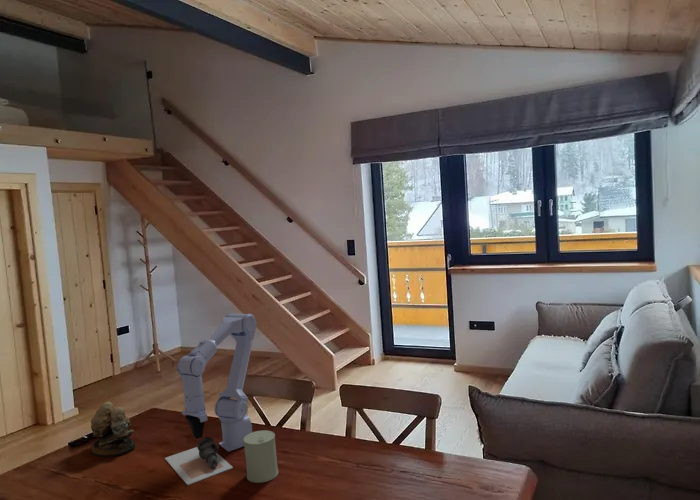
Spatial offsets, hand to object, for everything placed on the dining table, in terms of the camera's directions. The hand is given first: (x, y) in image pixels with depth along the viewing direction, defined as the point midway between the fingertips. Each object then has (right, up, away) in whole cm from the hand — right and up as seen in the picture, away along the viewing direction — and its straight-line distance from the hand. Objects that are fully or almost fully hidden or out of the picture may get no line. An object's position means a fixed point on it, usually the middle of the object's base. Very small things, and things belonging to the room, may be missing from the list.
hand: (198, 437), depth 159 cm
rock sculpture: (-34, -11, +19) cm, 41 cm away
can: (+21, -9, -7) cm, 24 cm away
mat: (-1, -9, +3) cm, 10 cm away
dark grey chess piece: (0, -5, +7) cm, 9 cm away
